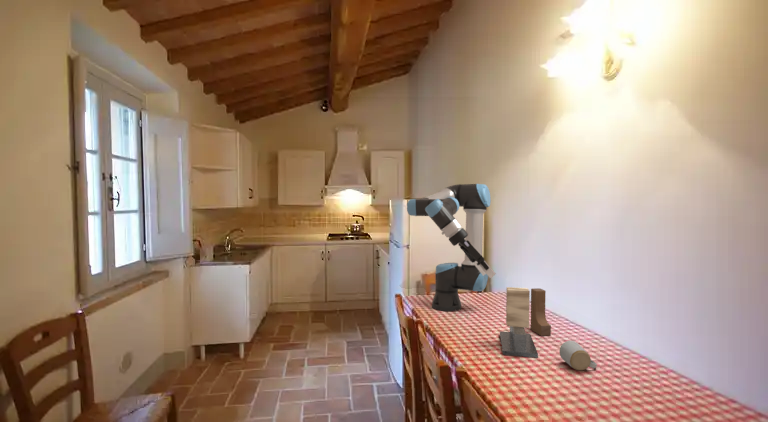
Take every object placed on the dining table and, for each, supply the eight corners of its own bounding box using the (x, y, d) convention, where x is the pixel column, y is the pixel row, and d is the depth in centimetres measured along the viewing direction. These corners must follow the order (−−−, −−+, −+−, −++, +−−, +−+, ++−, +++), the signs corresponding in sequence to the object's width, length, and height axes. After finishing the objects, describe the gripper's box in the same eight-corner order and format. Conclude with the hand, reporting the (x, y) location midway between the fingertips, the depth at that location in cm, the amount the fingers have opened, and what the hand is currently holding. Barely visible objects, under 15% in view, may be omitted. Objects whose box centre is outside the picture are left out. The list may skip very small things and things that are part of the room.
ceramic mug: (570, 372, 129) (571, 348, 129) (558, 361, 137) (559, 339, 137) (602, 372, 129) (603, 349, 129) (588, 362, 137) (589, 340, 137)
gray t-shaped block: (499, 334, 164) (499, 315, 164) (530, 337, 162) (530, 317, 161) (502, 354, 143) (503, 333, 143) (537, 357, 140) (538, 335, 140)
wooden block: (551, 336, 163) (551, 292, 163) (540, 336, 163) (541, 293, 162) (539, 328, 172) (540, 288, 172) (530, 329, 171) (530, 288, 171)
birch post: (506, 322, 156) (506, 287, 155) (527, 323, 154) (527, 288, 153) (507, 326, 151) (507, 289, 150) (529, 327, 149) (529, 291, 148)
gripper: (444, 239, 170) (476, 278, 168) (451, 238, 146) (488, 283, 143) (458, 228, 171) (489, 267, 168) (466, 225, 146) (504, 270, 143)
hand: (489, 274), depth 156 cm, fingers open, 13 cm apart
